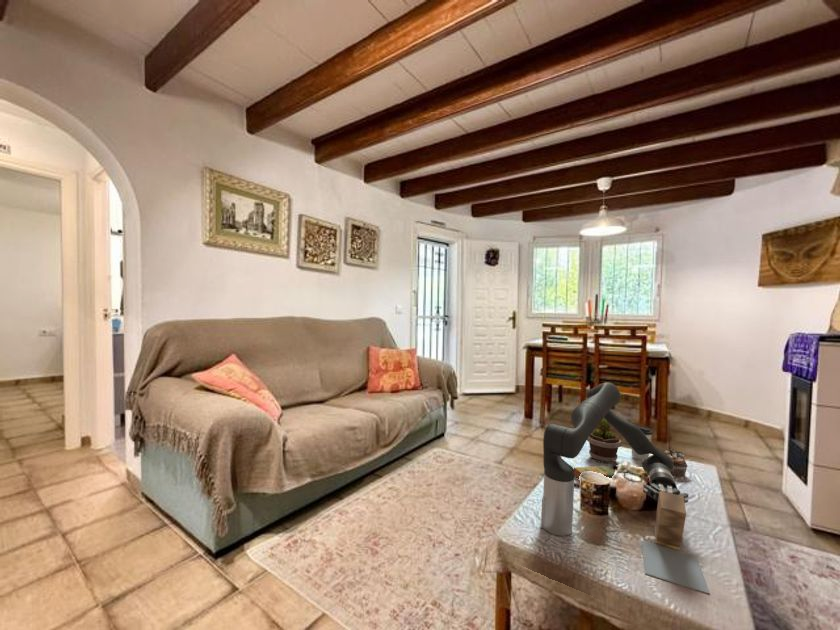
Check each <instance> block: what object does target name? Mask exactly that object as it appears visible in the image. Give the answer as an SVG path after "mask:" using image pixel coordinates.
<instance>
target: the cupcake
mask: <svg viewBox="0 0 840 630" xmlns="http://www.w3.org/2000/svg"><path fill="white" fill-rule="evenodd" d="M663 452H664V453H665V454H666V455H667V456H669V457H670V458H671V460H672V461H673V464H674V467H673V469H672V470H670V472H671V475H672V476H673V478H679V479H681V478H680V477H683V478H685V476H686V473H687V469H688V464H687V462H686V458H685V454H683V452H682V451H676V450H675V449H674V448H673V449H666V450H664V451H663Z"/></svg>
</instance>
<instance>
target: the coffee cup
mask: <svg viewBox="0 0 840 630" xmlns="http://www.w3.org/2000/svg"><path fill="white" fill-rule="evenodd" d="M635 425H636V426H637V427H638V428H639V429H640V430H641V431H642V432H643V433H644V434H645V435H646V437H647V438H648V439H649V440H650V442H651V443H652V436H653V431H652V430H651V428H649V427H647V426H645V425H641V424H640V425H639V424H638V425H637V424H635ZM631 457H633V458H635V459H636V460H642V461H643V460H644V459H646V458H648V457H650V454H644V455H639V454H637V453H636V452H635V451H634V450H633V448H632V447H631Z"/></svg>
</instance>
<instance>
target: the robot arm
mask: <svg viewBox="0 0 840 630" xmlns="http://www.w3.org/2000/svg"><path fill="white" fill-rule="evenodd" d="M586 397H587V398H586V399H585V400H583V401H581V402H579V403H578V404H577V406H576V407H574V409H573V410H572V411H571V414H570V419H571V420H570V421H571V424H572V426H573V428H571V427H568V426H563V425H559V424H554V423H549V424H548V425H547V426H546V427H545V429H544V432H543V439H542V440H543V443H542V445H543V446H542V447H543V469H544V471H543V489H542V490H543V493H542V495H543V496H542V498H541V513H540V528H542V529H544V530H545V531H547V532H549V533H550V534H552V535H556V536H559V537H562V536H563V537H564V536H565V537H566V536H569V535H570V534H572V532H573V526H574V525H573V524H574V523H573V519H574V518H573V517H574V501H575V500H574V496H575V495H574V493H575V471H574V467H573V466H572V465H571V464H569V463H568V462H566V460H564V459H563V458H567V459H575V458H576V457H577V456H579V454H580V452H582V449H583V448H584V446H585V444H586V443H587V439H588V437H589V436H590V434H591V433H592V432H593V431H596V429H597V428H598V426H599V424H600V422H601V421H602V420H603V418H605V419H606V420H607V421H608V422H609V423H610V426H611V427H613V428H614V429H615V430H616V431H617V432H618V433H619V434H620V435H621V436H622V437H623V439H624V440H625V441H626V442H627V444H628V445H629V446H630V447H631V449H632V448H633V450H634V451H635V452H636V453H637V454H639V455H644V454H649V457H648V458H646V459H644V460H642V461H641V468H642V469H643V471H644V472H645V473H646V474H647V475H648V479H649V481H648V482H649V485H648V484H646V483H643V489H642V490H643V491H642V492H643V493H644V494H646V495H647V496H648V497H650V498H652V499H653V500H655V501H657V502H658V498H659V491H662V492H667V493H671V494H676V495H680V496H684V503H685V504H686V503H689V494H688V493H687V492H684V493H682V492H681V490H680V489H678V487H677V484H676V480H675V479H674V478H675V477H673V476H672V475H671V472H670V470H672V469H673V467H674V464H673V461H672V460H671V458H670V457H669V456H667V455H666V454H665V453H664V451H662V450H661V449H659V448H658V447H657V446H656V445H655V444H653V443H652V441H651V442H650V440H649V439H648V438H647V437H646V435H645V434H644V433H643V432H642V431H641V430H640V429H639V428H638V427H637V426H636V425H637V424H634V423H633V422H630V421H628V420H626V419H625V418H622V417H620V416H619V415H618V414H616V413H615V412H614V411H612V410H611V409H613V408H614V406H616V405H618V404H619V403H620V402H621V392H620V390H619V388H618V387H617V386H616V384H614V383H612V382H603V383H601V384H598V385H596V386H594V387H592V388H590V389H589V390H588V391H587V392H586Z"/></svg>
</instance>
